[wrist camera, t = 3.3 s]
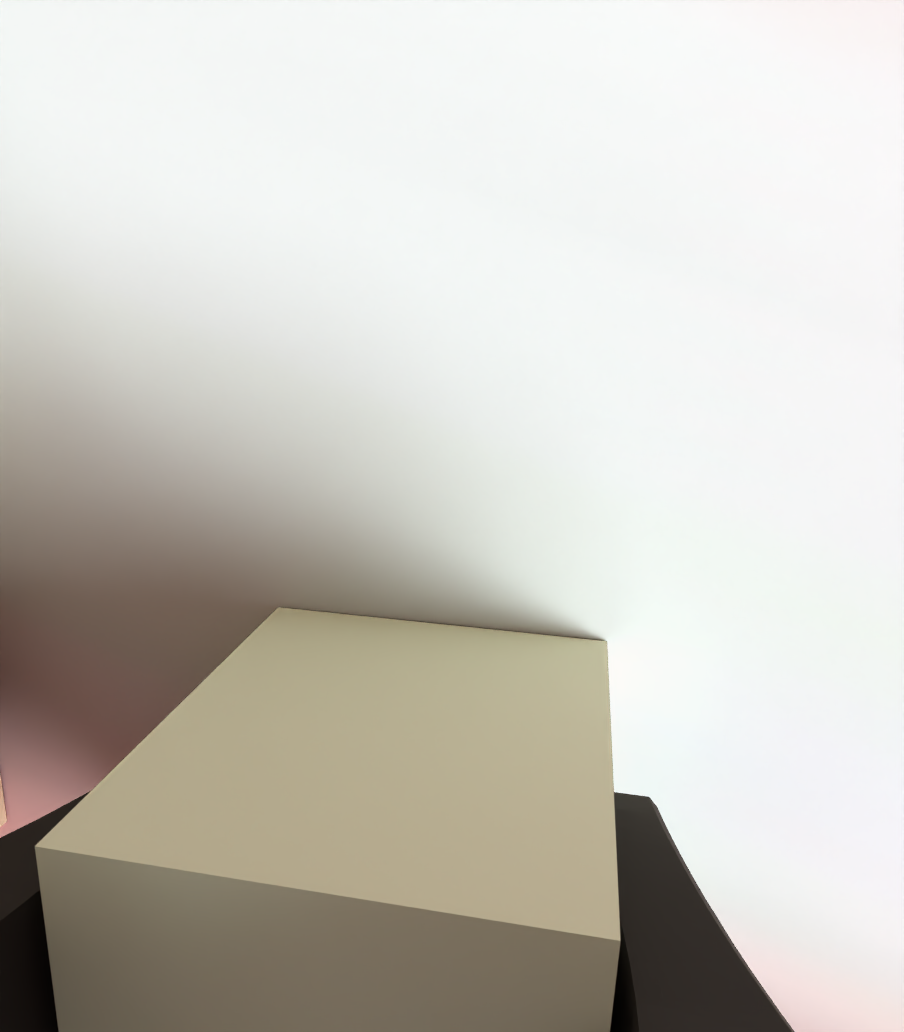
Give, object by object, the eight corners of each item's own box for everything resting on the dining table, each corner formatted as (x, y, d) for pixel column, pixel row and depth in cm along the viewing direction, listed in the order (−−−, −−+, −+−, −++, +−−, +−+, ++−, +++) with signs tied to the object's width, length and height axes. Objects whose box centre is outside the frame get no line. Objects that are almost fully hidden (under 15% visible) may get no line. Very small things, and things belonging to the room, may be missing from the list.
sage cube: (578, 924, 11) (570, 1370, 7) (285, 878, 12) (86, 1251, 7) (606, 641, 10) (620, 941, 5) (278, 606, 11) (34, 847, 6)
